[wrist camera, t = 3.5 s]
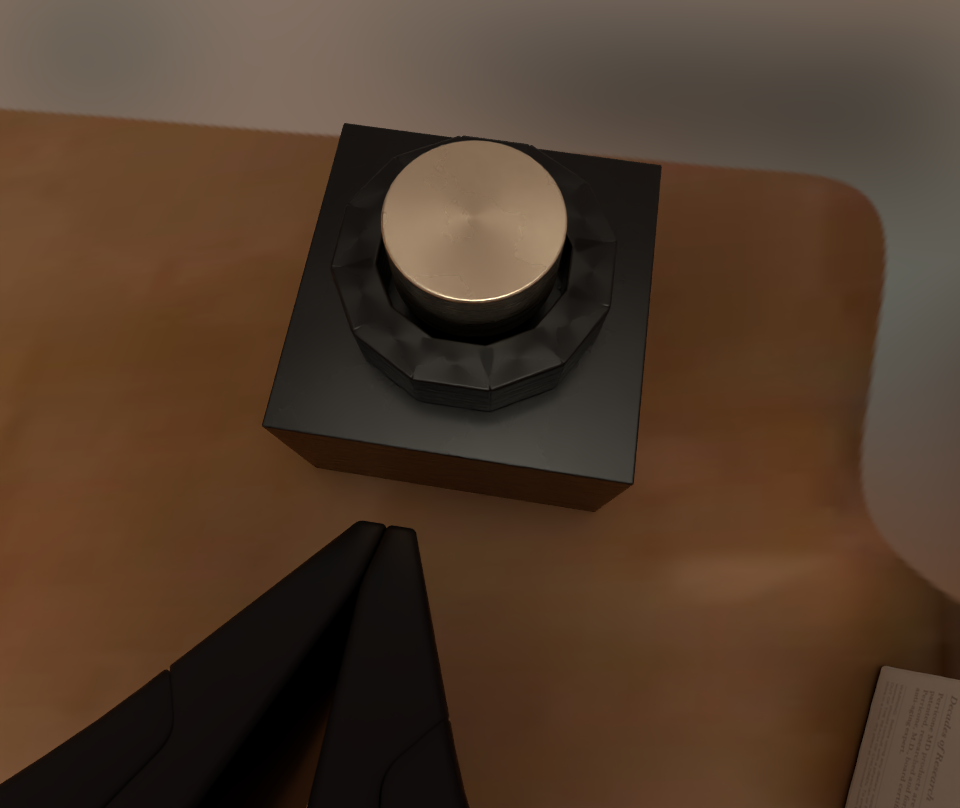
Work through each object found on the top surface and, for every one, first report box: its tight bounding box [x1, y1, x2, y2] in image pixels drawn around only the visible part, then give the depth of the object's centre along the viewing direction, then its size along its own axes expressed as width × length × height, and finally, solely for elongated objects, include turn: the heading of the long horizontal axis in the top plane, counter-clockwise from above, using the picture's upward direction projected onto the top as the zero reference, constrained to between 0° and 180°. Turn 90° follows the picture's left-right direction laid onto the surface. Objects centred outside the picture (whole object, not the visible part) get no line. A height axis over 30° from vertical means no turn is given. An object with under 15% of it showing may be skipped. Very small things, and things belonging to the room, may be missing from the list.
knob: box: [381, 140, 568, 337], centre depth 16 cm, size 4×4×2 cm
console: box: [262, 123, 662, 512], centre depth 20 cm, size 10×10×8 cm
